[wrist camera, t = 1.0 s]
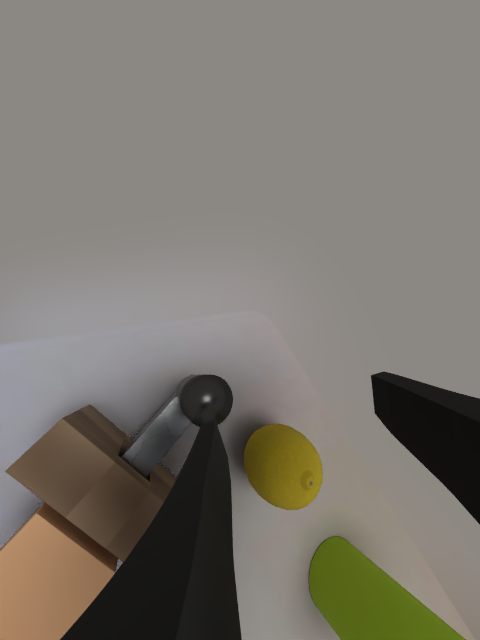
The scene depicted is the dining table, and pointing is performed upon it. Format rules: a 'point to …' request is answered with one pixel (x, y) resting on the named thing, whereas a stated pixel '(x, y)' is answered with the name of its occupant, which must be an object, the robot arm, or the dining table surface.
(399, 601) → the soap dispenser
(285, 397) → the dining table surface
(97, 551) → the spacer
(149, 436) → the shaft
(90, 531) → the bracket
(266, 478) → the lemon
